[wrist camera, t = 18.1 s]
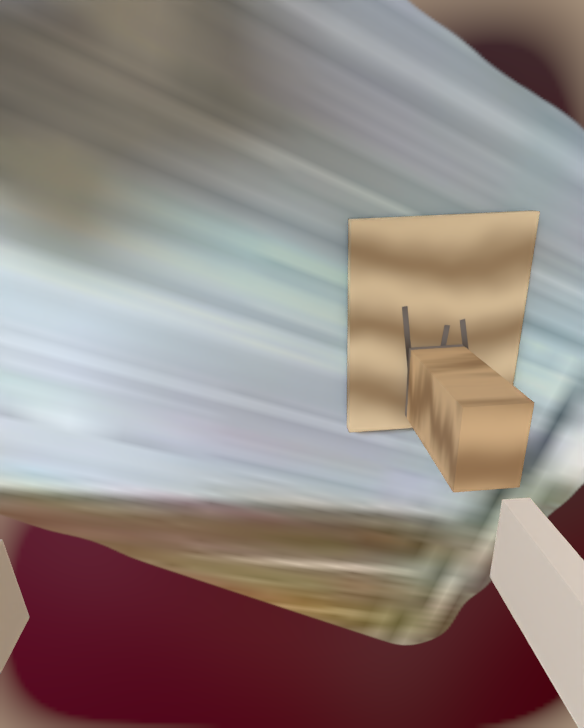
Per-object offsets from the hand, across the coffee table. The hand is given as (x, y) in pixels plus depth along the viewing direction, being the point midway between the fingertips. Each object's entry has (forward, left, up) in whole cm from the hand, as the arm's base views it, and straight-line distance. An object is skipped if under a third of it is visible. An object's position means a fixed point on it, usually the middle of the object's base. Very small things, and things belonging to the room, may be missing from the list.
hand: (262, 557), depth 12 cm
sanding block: (+9, +16, -29) cm, 35 cm away
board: (+4, +16, -31) cm, 35 cm away
